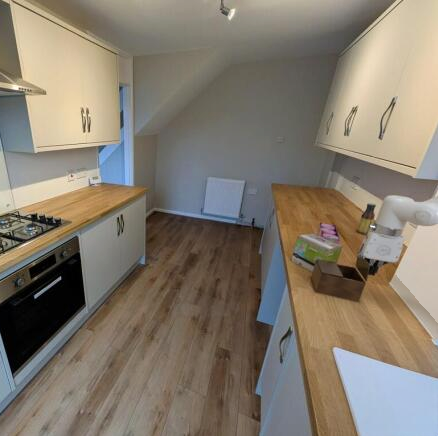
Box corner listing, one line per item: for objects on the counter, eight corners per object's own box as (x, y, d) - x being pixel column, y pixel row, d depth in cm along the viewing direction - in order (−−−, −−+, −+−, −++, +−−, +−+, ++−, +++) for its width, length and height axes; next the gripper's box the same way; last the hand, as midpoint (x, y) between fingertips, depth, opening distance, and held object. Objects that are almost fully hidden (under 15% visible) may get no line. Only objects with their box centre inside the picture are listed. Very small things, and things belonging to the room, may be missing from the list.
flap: (355, 266, 98) (356, 266, 98) (365, 281, 88) (366, 281, 88) (358, 251, 96) (359, 251, 96) (369, 265, 86) (370, 265, 86)
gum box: (313, 242, 141) (319, 221, 137) (329, 246, 137) (336, 224, 133) (314, 259, 122) (321, 235, 118) (333, 264, 118) (341, 239, 114)
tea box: (290, 261, 120) (296, 235, 115) (304, 258, 124) (311, 232, 119) (319, 277, 107) (328, 248, 102) (334, 273, 110) (343, 245, 105)
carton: (348, 286, 101) (355, 265, 98) (357, 303, 91) (366, 281, 88) (310, 278, 107) (316, 258, 103) (315, 293, 97) (322, 272, 93)
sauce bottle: (364, 231, 158) (374, 202, 152) (371, 235, 153) (382, 205, 146) (353, 230, 159) (363, 202, 152) (360, 234, 153) (370, 205, 146)
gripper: (364, 230, 85) (348, 273, 91) (421, 237, 79) (400, 284, 85) (357, 223, 91) (343, 264, 98) (409, 230, 85) (390, 273, 92)
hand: (370, 273), depth 91 cm, fingers closed
